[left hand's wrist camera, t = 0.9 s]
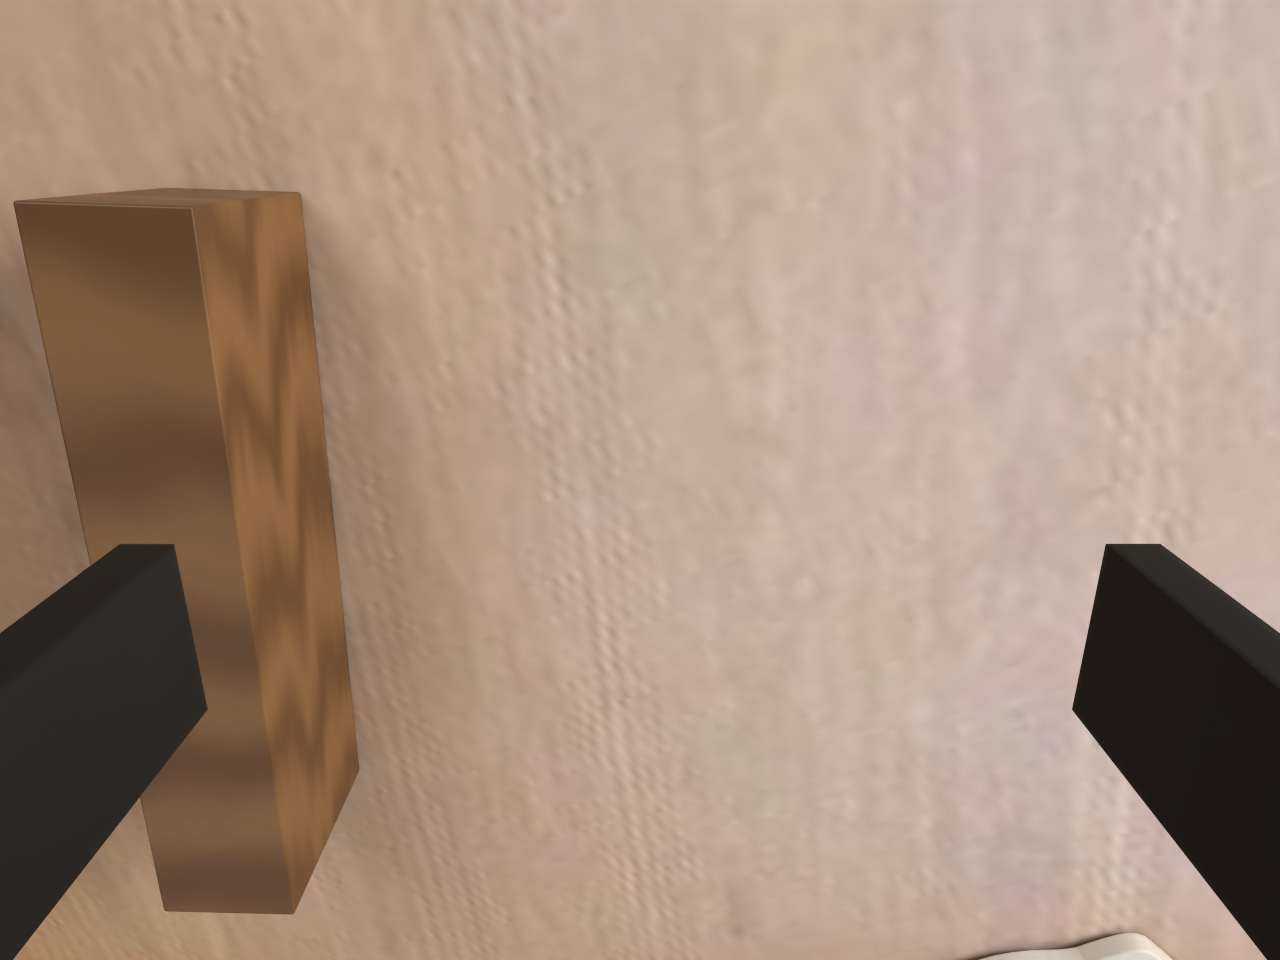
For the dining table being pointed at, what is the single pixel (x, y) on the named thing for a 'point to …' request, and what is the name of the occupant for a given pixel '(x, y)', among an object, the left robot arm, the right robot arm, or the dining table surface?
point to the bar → (211, 507)
